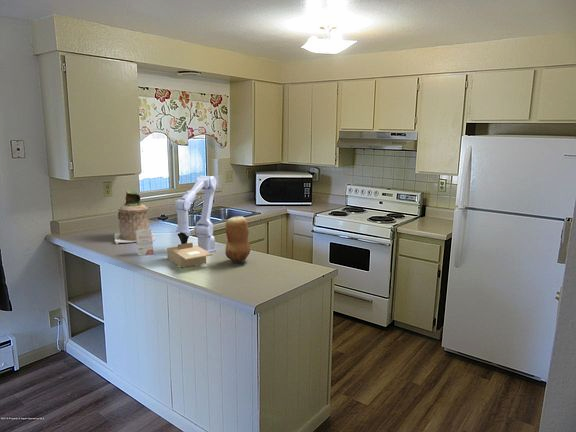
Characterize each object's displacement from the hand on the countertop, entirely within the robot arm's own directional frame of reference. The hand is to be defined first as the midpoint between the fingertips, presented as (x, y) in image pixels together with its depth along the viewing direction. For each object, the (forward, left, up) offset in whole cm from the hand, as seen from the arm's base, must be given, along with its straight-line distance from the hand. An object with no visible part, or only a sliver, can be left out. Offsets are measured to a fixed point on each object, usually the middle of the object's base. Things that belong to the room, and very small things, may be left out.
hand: (184, 246), depth 232 cm
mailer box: (0, +2, -8) cm, 8 cm away
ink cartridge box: (+14, -24, -8) cm, 28 cm away
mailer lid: (0, +10, -1) cm, 10 cm away
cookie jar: (+9, -63, -8) cm, 64 cm away
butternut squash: (-22, +20, -8) cm, 31 cm away
